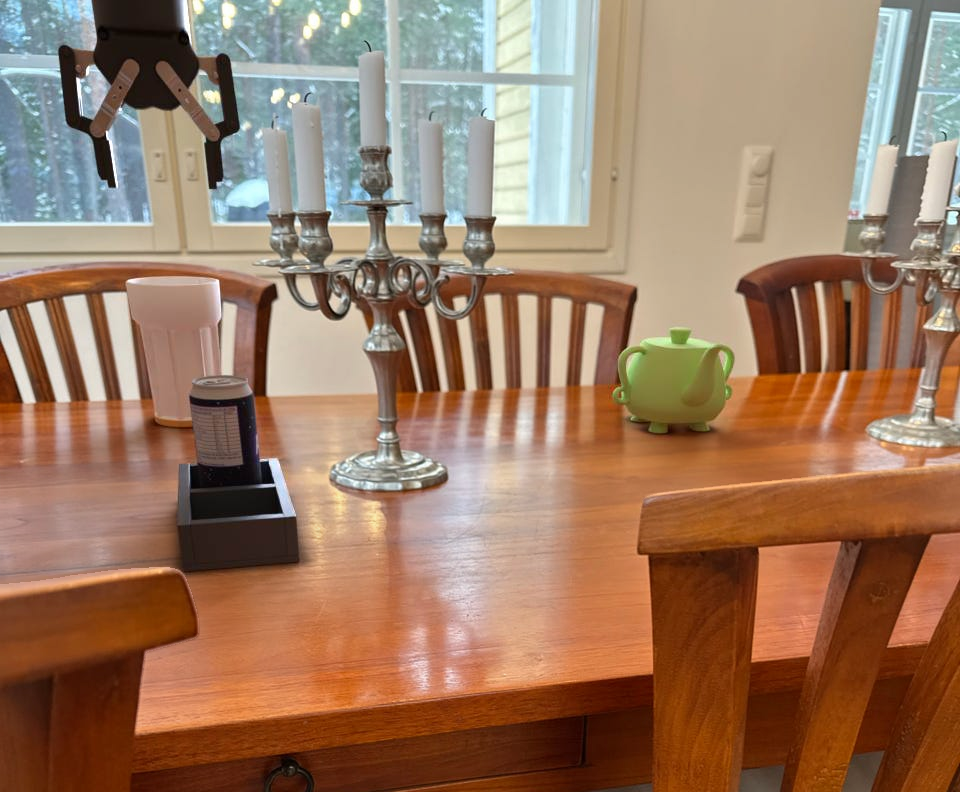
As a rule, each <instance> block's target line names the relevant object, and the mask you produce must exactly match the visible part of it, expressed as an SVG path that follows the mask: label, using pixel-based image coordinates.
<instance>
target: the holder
mask: <svg viewBox="0 0 960 792" xmlns="http://www.w3.org/2000/svg"><path fill="white" fill-rule="evenodd" d="M260 467H261V478H262V485H246V486H231V487H215V488H201V487H200V479H199V471H198V463H197V462H190V463H189V462H187V463H179V464H178V478H177V479H178V481H177V482H178V483H177V514H176V517H177V518H176V527H177V535H178V542H179V550H180V555H181V563H182V569H183V572H185V573H187V572H199V571H209V570H210V571H211V570H221V569H230V568H231V569H232V568H233V569H234V568H244V567H255V566H264V565H265V566H267V565H277V564H289V563H299V562H300V561H301V559H300V548H299V533H298V523H297V514H296V511H295V509H294V505H293V502H292V499H291V496H290V493H289V489H288V487H287V484H286V483H287V482H286V480H285V478H284V474H283V471H282V468H281V464H280V462H279V459H278V458H277V457H274V458H273V457H271V458H260Z"/></svg>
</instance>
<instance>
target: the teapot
mask: <svg viewBox="0 0 960 792" xmlns="http://www.w3.org/2000/svg"><path fill="white" fill-rule="evenodd" d="M668 333H669V336H666V337H665V336H664V337H663V336H662V337H660V336H657V337H647V338H646V337H645V338H644V339H643V340H642V341H641V342H640V344H639V345H636V344H635V345H631V346H628V347H627V348H625V349H623V351H622V352H621V353H620V354H619V356H618V359H617V371H618V377H619V381H620V386H618V387H616V388H615V389H614V390H613V392H612V396H611V397H612V401H613V402H614V404H616V405H618V406H625V408H626V410H627V411H628V413H630V414H631V415H633V416H632V417H631V418H630V421H632V422H636V423H647V422H651V423H650V424H649V428H648V430H647V431H648V432H650V433H654V434H665V433H668V429H669V424H689V427H690V430H692V431H696V432H709V431H710V427H709V426H708V423H707V422H712V421H714V420H715V419H717V417H719V416H720V414H721V413H722V411H723V410H724V409H725V406H726V404H727V403H726V402H727V401H728V400H730V399H731V397H732V395H733V388H732V386H731V385H730V384H728V383H727V381H728V380H729V377H730V375H731V374H732V371H733V369H734V365H735V361H736V360H735V359H736V357H735V353H734V351H733V349H731V347H729V346H728V345H727V344H724V343H720V342H719V343H712V342H710V341H706V340H704V339H703V340H702V339H698V338H693V337H690V336H691V334H692V329H690V328H689V327H679V326H678V327H670V328H668ZM720 352H723V353H725V362H724V366H723V364H722V361H721V358H720V354H719V353H720ZM631 355H633V356H632V357H631V360H630V362H629V364H628V366H627V361H628V359H629V357H630V356H631ZM620 395H621V398H620Z"/></svg>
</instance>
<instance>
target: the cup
mask: <svg viewBox="0 0 960 792" xmlns="http://www.w3.org/2000/svg"><path fill="white" fill-rule="evenodd" d="M125 288H126V293H127V294H126V295H127V299H128V304H129V309H130V315H131V319H132V320H133V321H135V323H136V324H137V325H138V326H139V328H140V335H141V340H142V346H143V352H144V355H145V356H144V357H145V358H144V359H145V363H146V368H147V375H148V379H149V385H150V392H151V397H152V403H153V408H154V414H153V415H154V422H155V423H157V425H160V426H165V427H170V428H193V424H192V416H191V408H190V400H189V395H190V392H191V389H192V386H193V384H192V380H194V379H196V378H199V377H205V376H214V375H222V365H221V353H220V341H219V340H220V339H219V338H220V337H219V327H218V324H219V322H220V321H221V319H222V303H221V289H220V288H221V287H220V280H219V279H216V278H213V277H204V276H189V275H188V276H186V275H184V276H183V275H171V276H170V275H165V276H163V275H161V276H147V277H145V276H144V277H137V278H130V279H127V280H125Z"/></svg>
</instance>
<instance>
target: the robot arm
mask: <svg viewBox="0 0 960 792" xmlns="http://www.w3.org/2000/svg"><path fill="white" fill-rule="evenodd" d="M91 7H92V13H93V23H94V29H95V37H96V43H95V46H94V49H93V50H90V49H81V48H72V47H71V46H69V45H68V44H62V45H61V44H60V46H59V47H58V50H57V54H58V63H59V64H58V65H59V71H60V72H59V73H60V82H61V90H62V99H63V101H62V102H63V108H64V109H63V110H64V117H65V118H64V119H65V122H66V125H67V126H68V127H70V128H71V129H73V130H77V131H79V132H82V133H83V134H85V135H87V136H89V137H90V139H91V141H92V146H93V153H94V159H95V165H96V171H97V175H98V177H99V179H100V180H101V181H106V183H107V187H108V189H119V184H118V178H117V170H116V164H115V163H116V162H115V157H114V151H113V143H112V140H110V139H109V134H108V133H109V132H110V130H111V128H112V127H113V125H114V123H115V121H116V119H117V118H118V117H119V115H120V114H121V112H122V110H123V108H124V107H125V105H127V106H129V107H130V108H131V109H134V110H137V111H145V110H150V109H156V110H160V111H163V112H173V111H174V110H177V109H178V108H180V107H181V108H182V109H183V110H184V112H185V113H186V114H187V116H188V117H189V118H190V120H191V121H192V122H193V123H194V124H195V126H196V127H197V128H198V129H199V131H200V133H202V135H203V136H204V137H205V141H204V142H203V145H204V155H205V165H206V166H205V167H206V175H207V184H208V190H218V185H217V184H218V183H223V181H224V177H225V175H224V174H225V173H224V166H223V165H224V164H223V155H222V154H223V153H222V142H223V140H224V139H225V138H229V137H232V136H233V135H235V134H238V132H239V131H240V129H241V125H240V117H239V111H238V103H237V97H236V89H235V82H234V75H233V69H232V61H231V58H230V57H229V55H228V54H227V53H225V52H221V53H219V54H217V55H216V56H215V55H214V56H213V55H211V56H209V55H208V56H207V55H206V56H197V54H196V53H195V50H194V48H193V45H192V38H191V29H190V20H189V11H188V10H189V9H188V0H91ZM92 66H95V67H96V68H97V70H98V71H99V72H100V74H101V75H102V76H103V78H104V79H105V80H106V81H107V83H108V84H109V85H110V88H109V90H108V92H107V93H106V95H105V96H104V98H103V101H102V102H101V105H100V107H99V108H98V110H97V112H96V113H95V116H94V118H93V119H92V118H89V117H87V116H84V111H83V102H82V101H83V100H82V93H81V92H82V91H81V81H80V80H85V79H86V78H87V77H88V75H89V69H90V67H92ZM200 71H201V72H204V73H205V74H206V75H207V79H208V81H209V83H210V84H211V85H213V86H218V91H219V97H220V104H221V112H222V117H223V120H222V121H219V122H217V123H214V122H213V121H212V119H211V118H210V117H209V115H208V114H207V112H206V111H205V110H204V109H203V107H202V105H201V104H200V103H199V102H198V101H197V99H196V97H195V96H194V95H193V94H192V92H191V91H190V89H191V87H192V86H193V84H194V82H195V81H196V78H197V77H198V75H199V72H200Z"/></svg>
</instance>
